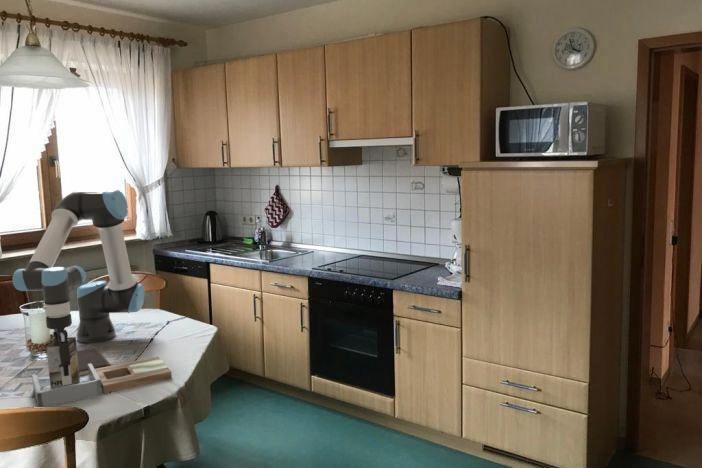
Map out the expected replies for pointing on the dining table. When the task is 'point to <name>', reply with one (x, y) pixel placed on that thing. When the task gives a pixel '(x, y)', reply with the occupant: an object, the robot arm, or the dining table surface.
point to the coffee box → (55, 362)
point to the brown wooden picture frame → (133, 374)
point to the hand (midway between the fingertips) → (65, 379)
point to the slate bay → (68, 390)
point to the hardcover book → (90, 360)
